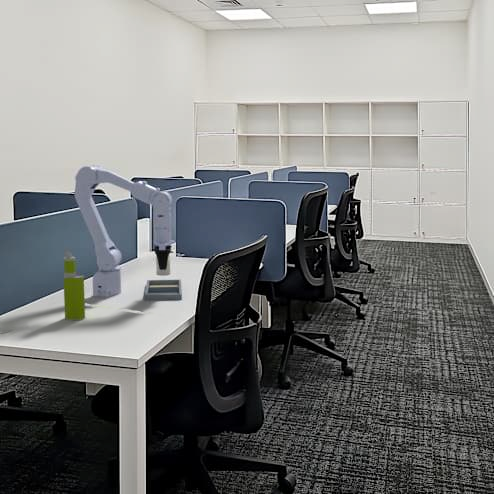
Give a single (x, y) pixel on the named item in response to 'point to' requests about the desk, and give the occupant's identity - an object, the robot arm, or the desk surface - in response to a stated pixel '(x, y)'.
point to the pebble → (163, 272)
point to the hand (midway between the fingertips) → (163, 268)
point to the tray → (163, 290)
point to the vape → (73, 290)
